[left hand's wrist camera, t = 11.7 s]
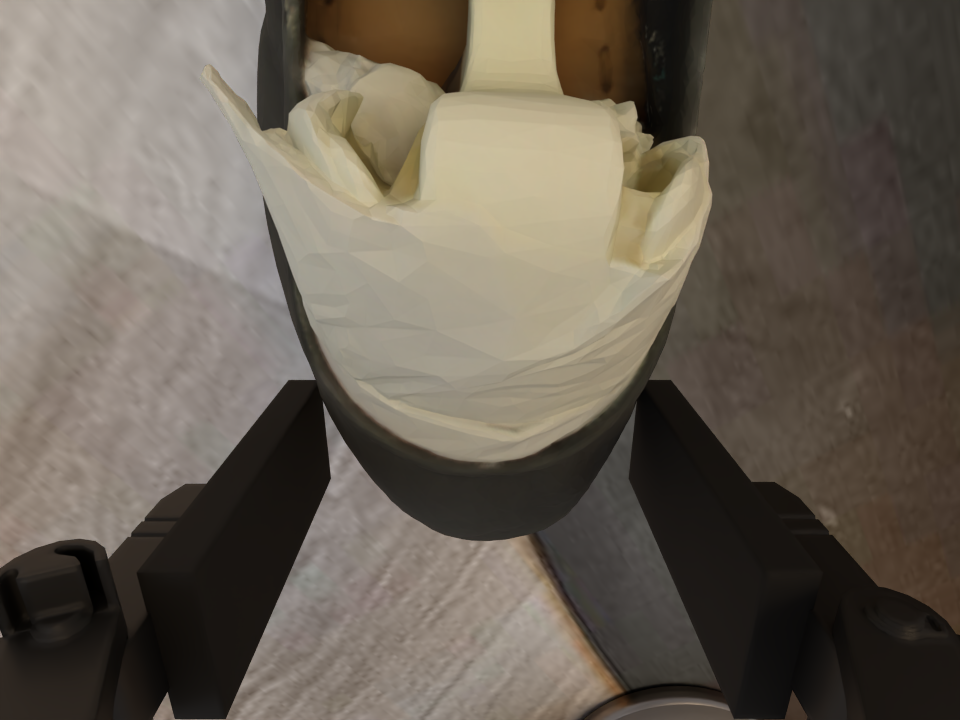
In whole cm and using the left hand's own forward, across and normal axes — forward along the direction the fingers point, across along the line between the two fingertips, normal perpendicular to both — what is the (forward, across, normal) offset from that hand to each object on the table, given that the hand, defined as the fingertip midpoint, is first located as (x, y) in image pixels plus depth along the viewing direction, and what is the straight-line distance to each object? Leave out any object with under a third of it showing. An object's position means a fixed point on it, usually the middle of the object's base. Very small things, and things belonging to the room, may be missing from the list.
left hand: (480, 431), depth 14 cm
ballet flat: (+2, 0, -9) cm, 9 cm away
